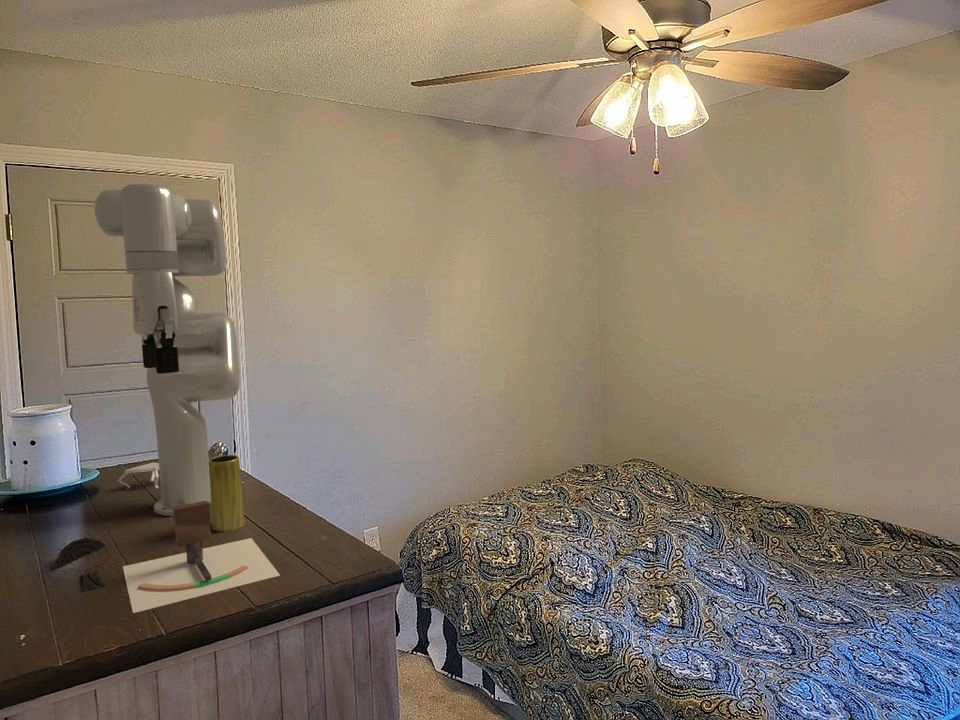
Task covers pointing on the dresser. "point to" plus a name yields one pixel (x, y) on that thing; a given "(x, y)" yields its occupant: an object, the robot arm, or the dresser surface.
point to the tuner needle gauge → (193, 531)
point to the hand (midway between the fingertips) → (160, 369)
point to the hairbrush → (78, 551)
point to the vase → (226, 493)
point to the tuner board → (195, 574)
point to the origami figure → (143, 468)
